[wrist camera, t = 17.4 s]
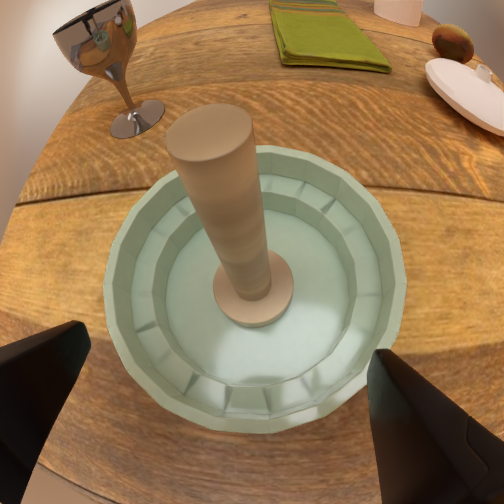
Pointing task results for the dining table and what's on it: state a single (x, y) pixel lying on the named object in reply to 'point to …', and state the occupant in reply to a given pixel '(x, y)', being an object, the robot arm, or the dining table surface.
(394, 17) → the bottle
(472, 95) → the flat round vase
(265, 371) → the bowl
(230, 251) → the beige piece
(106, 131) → the dining table surface
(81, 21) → the wine glass
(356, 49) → the dish towel
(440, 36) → the fruit
